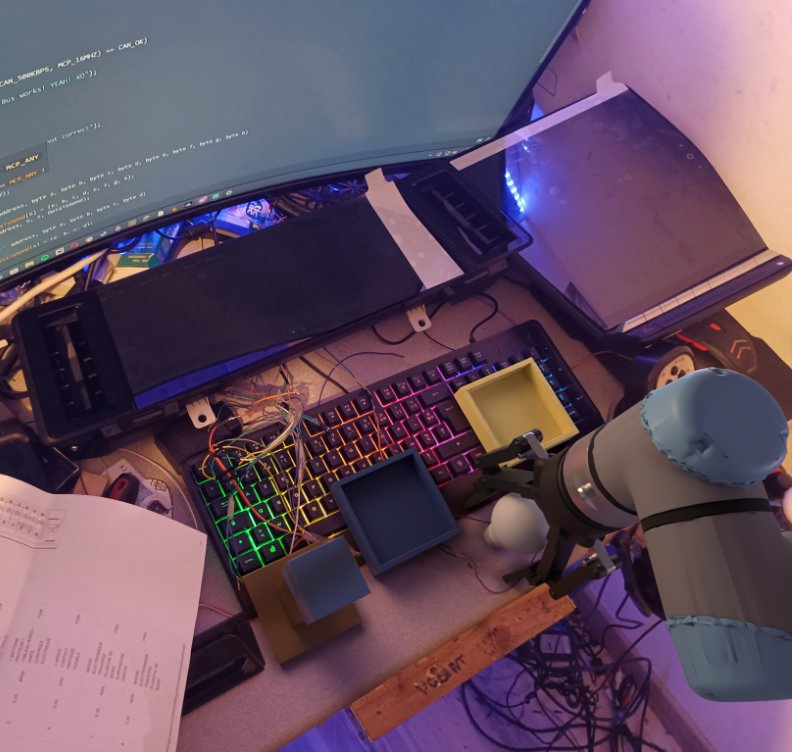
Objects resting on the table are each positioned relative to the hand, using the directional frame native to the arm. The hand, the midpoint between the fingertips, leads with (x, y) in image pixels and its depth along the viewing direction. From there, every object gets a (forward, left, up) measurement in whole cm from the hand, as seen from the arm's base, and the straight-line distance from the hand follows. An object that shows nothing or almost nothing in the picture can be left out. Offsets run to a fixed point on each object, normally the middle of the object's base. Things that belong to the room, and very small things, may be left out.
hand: (493, 537), depth 78 cm
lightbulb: (0, 0, 0) cm, 0 cm away
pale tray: (+11, -10, 0) cm, 15 cm away
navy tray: (+7, +9, 0) cm, 11 cm away
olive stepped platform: (+3, +22, 0) cm, 22 cm away
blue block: (+3, +22, +12) cm, 25 cm away
